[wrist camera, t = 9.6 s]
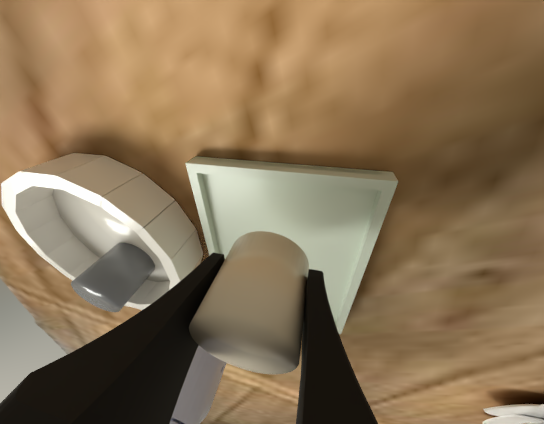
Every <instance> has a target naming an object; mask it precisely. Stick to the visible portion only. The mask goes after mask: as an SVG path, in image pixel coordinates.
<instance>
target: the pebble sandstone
mask: <svg viewBox="0 0 544 424" xmlns="http://www.w3.org/2000/svg"><path fill="white" fill-rule="evenodd" d="M308 270H309V262H308V259H307V256H306V254H305V253H304V251H303V250H302V249H301V248H300V247H299V246H298V245H297V244H296V243H295V242H293V241H292V240H290V239H288V238H286V237H284V236H282V235H280V234H276V233H272V232H266V231H255V232H250V233H247V234H244V235H242V236H241V237H239V238H238V239H237V240H236V241H235V242H234V244H233V246H232V248H231V249H230V251H229V253H228V255H227V257H226V259H225V260H224V262H223V264H222V266H221V268H220V270H219V271H218V273H217V275H216V277H215V279H214V281H213V282H212V284H211V286H210V288H209V290H208V292H207V293H206V295H205V297H204V299H203V301H202V303H201V304H200V306H199V308H198V310H197V312H196V314H195V315H194V317H193V319H192V321H191V323H190V325H189V332H190V334H191V336H192V338H193V339H194V341H195V342H196V343H197V344H198V345H199V346H200V347H201V348H203V349H204V350H205V351H207V352H208V353H210V354H211V355H213V356H214V357H216V358H218V359H220V360H222V361H224V362H226V363H228V364H231V365H233V366H236V367H239V368H242V369H245V370H248V371H252V372H257V373H264V374H283V373H288V372H291V371H293V370H294V369H296V368H297V366H298V364H299V359H300V349H301V340H302V330H303V321H304V311H305V298H306V287H307V278H308Z"/></svg>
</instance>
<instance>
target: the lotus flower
mask: <svg viewBox="0 0 544 424" xmlns="http://www.w3.org/2000/svg"><path fill="white" fill-rule="evenodd" d="M484 411H485V412H486V413H488V414H491V415H495V416H498V417H494V418H491V419H487V420H485V421H483V423H482V424H520V423H526V424H544V404H541V405H536V404H518V405H506V406H497V407H491V408H486V409H484ZM529 422H531V423H529Z"/></svg>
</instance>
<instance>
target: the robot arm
mask: <svg viewBox="0 0 544 424" xmlns="http://www.w3.org/2000/svg"><path fill="white" fill-rule="evenodd" d="M224 260H225V258H224V254H219V253H212V254H211V255H210V256H208V257H207V258H206V259H205V260H204V261H203V262H202V263H201V264H199V265H198V266H197V267H196V268H195V269H194V270H193V271H192V272H190V273H189V274H188V275H187V276H186V277H185V278H183V279H182V280H181V281H180V282H179V283H178V284H176V285H175V286H174V287H173V288H171V289H170V290H169V291H168V292H166V293H165V294H164V295H162V296H161V297H160V298H159V299H157V300H156V301H155V302H153V303H152V304H150V305H149V306H148V307H146V308H145V309H143V310H142V311H140V312H139V313H138V314H136V315H135V316H133V317H132V318H130V319H128V320H127V321H125V322H124V323H122V324H121V325H119V326H117V327H116V328H114V329H113V330H111V331H109V332H108V333H106V334H104V335H102V336H101V337H99V338H97V339H95V340H94V341H92V342H90V343H88V344H86V345H85V346H83V347H81V348H79V349H77V350H76V351H74V352H72V353H70V354H68V355H66V356H64V357H62V358H60V359H58V360H56V361H54V362H52V363H50V364H48V365H46V366H44V367H42V368H40V369H38V370H36V371H34V372H32V373H30V374H29V375H28V376H27V377H26V378H25V379H24V380H23V381H22V382H21V383H20V384H19V385H18V386H17V387H16V388H15V389H14V390H13V391H12V392H11V393H10V394H9V395H8V396H7V397H6V399H4V400H3V401H2V402H1V403H0V424H200V423H201V422H202V421H203V420H204V418H205V417H206V415H207V414H208V412H209V410H210V408H211V405H212V402H213V400H214V397H215V394H216V391H217V388H218V385H219V383H220V380H221V377H222V374H223V371H224V368H225V365H226V362H224V361H222V360H220V359H218V358H216V357H214V356H213V355H211V354H210V353H208V352H207V351H205V350H204V349H203V348H201V347H200V346H199V345H198V344H197V343H196V342H195V341H194V339H193V338H192V336H191V334H190V332H189V325H190V323H191V321H192V319H193V317H194V315H195V314H196V312H197V310H198V308H199V306H200V304H201V303H202V301H203V299H204V297H205V295H206V293H207V292H208V290H209V288H210V286H211V284H212V282H213V281H214V279H215V277H216V275H217V273H218V271H219V270H220V268H221V266H222V264H223V262H224ZM296 424H378V423H377V421H376V419H375V416H374V414H373V412H372V410H371V408H370V406H369V404H368V402H367V400H366V398H365V396H364V394H363V392H362V389H361V387H360V385H359V383H358V381H357V378H356V376H355V374H354V371H353V369H352V367H351V364H350V362H349V359H348V357H347V355H346V352H345V349H344V347H343V344H342V342H341V339H340V336H339V333H338V330H337V327H336V324H335V321H334V318H333V315H332V311H331V308H330V305H329V301H328V297H327V292H326V288H325V282H324V274H323V272H322V271H319V270H313V269H309V270H308V278H307V287H306V298H305V311H304V321H303V330H302V365H301V380H300V390H299V400H298V410H297V419H296Z"/></svg>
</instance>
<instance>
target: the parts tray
mask: <svg viewBox="0 0 544 424" xmlns="http://www.w3.org/2000/svg"><path fill="white" fill-rule="evenodd" d="M185 164H186V168H187V171H188V175H189V179H190V183H191V187H192V191H193V194H194V198H195V202H196V206H197V210H198V214H199V218H200V221H201V225H202V229H203V233H204V237H205V241H206V244H207V248H208V252H209V256H210V255H211V254H212V253H219V254H224V258H225V259H226V257H227V255H228V253H229V251H230V249H231V248H232V246H233V244H234V242H235V241H236V240H237V239H238V238H239V237H241V236H242V235H244V234H247V233H250V232H255V231H266V232H272V233H276V234H280V235H282V236H284V237H286V238H288V239H290V240H292V241H293V242H295V243H296V244H297V245H298V246H299V247H300V248H301V249H302V250H303V251H304V253H305V254H306V256H307V259H308V262H309V269H313V270H319V271H322V272H323V274H324V282H325V288H326V292H327V297H328V301H329V305H330V308H331V311H332V315H333V318H334V321H335V324H336V327H337V330H338V333H339V334H341V333H342V330H343V327H344V325H345V322H346V319H347V317H348V314H349V311H350V309H351V306H352V303H353V301H354V298H355V295H356V293H357V290H358V287H359V285H360V282H361V280H362V277H363V274H364V272H365V269H366V266H367V264H368V261H369V258H370V256H371V253H372V250H373V248H374V245H375V242H376V240H377V237H378V234H379V232H380V229H381V226H382V224H383V221H384V218H385V216H386V213H387V210H388V208H389V205H390V202H391V200H392V197H393V194H394V192H395V189H396V187H397V184H398V180H397V178H396V177H395V175H394V173H393V172H388V171H376V170H363V169H350V168H338V167H325V166H312V165H300V164H287V163H275V162H262V161H249V160H237V159H224V158H211V157H199V156H195V157H194V158H192V159H191V160H189V161H188V162H186V163H185Z"/></svg>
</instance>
